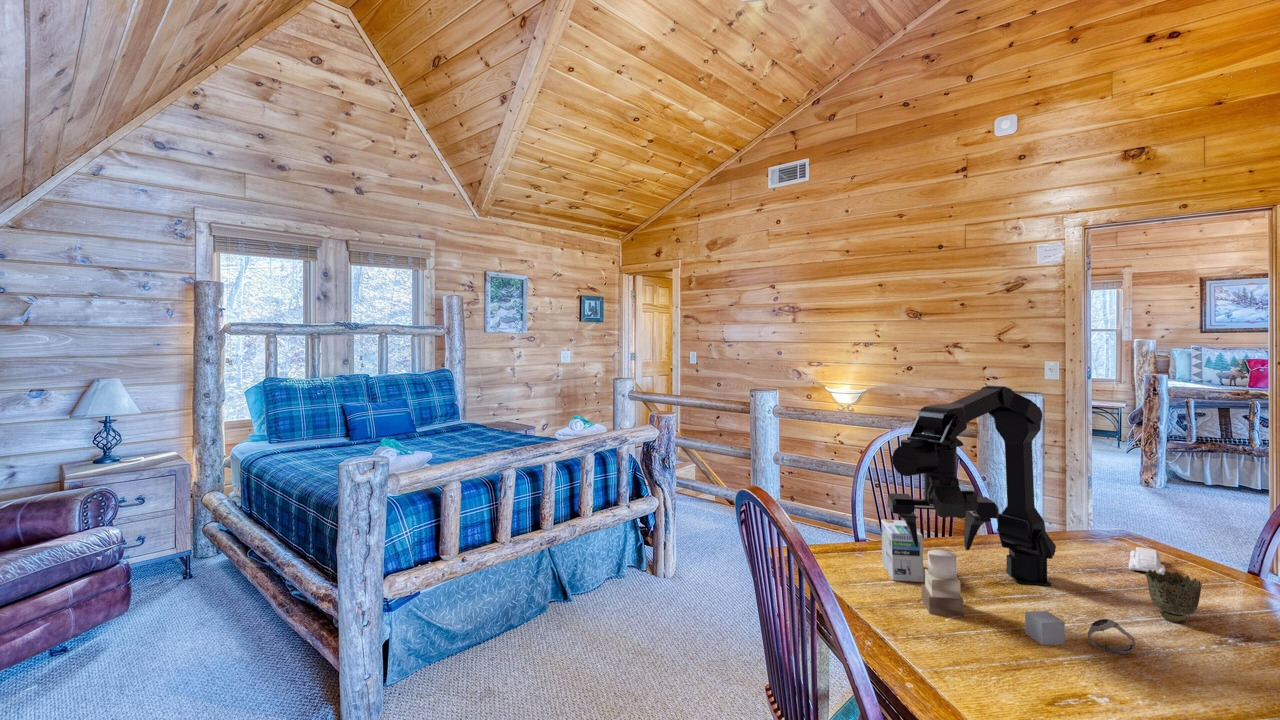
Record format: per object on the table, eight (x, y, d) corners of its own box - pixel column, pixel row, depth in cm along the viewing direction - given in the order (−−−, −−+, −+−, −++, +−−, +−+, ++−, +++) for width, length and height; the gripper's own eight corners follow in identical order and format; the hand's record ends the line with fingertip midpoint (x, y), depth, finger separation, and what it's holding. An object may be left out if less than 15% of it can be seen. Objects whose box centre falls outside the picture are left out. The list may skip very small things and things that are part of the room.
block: (1047, 632, 99) (1046, 611, 99) (1064, 644, 95) (1064, 622, 95) (1025, 633, 99) (1025, 611, 99) (1042, 645, 95) (1041, 622, 95)
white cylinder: (952, 570, 111) (952, 550, 111) (960, 580, 106) (959, 560, 106) (925, 568, 112) (924, 549, 112) (931, 578, 107) (931, 558, 107)
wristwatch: (1087, 640, 96) (1087, 612, 96) (1135, 651, 92) (1134, 622, 92) (1087, 648, 93) (1087, 620, 93) (1136, 661, 89) (1136, 631, 89)
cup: (1186, 613, 105) (1186, 571, 104) (1212, 632, 98) (1212, 587, 97) (1138, 607, 107) (1137, 567, 107) (1159, 626, 100) (1159, 582, 100)
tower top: (952, 587, 110) (951, 570, 110) (960, 599, 106) (960, 581, 106) (925, 586, 112) (924, 569, 112) (932, 597, 107) (931, 579, 107)
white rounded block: (1166, 580, 120) (1166, 559, 119) (1128, 573, 124) (1128, 552, 124) (1162, 563, 129) (1162, 543, 129) (1127, 557, 133) (1127, 538, 133)
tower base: (953, 603, 111) (953, 586, 111) (963, 617, 105) (963, 599, 105) (921, 601, 113) (921, 584, 113) (929, 614, 107) (929, 597, 107)
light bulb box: (924, 583, 121) (923, 534, 120) (892, 581, 122) (891, 533, 122) (910, 564, 131) (910, 519, 131) (880, 562, 132) (880, 518, 132)
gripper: (898, 477, 103) (899, 560, 103) (1010, 481, 98) (1011, 567, 99) (886, 465, 114) (887, 540, 114) (987, 468, 109) (988, 545, 109)
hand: (941, 548), depth 109 cm, fingers open, 9 cm apart
